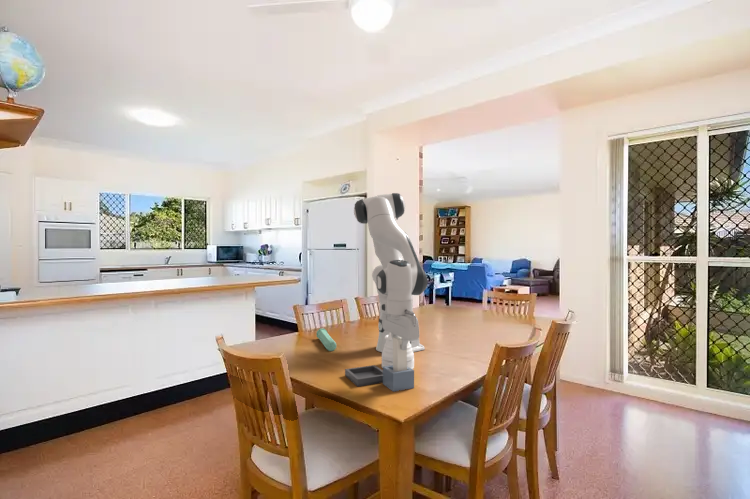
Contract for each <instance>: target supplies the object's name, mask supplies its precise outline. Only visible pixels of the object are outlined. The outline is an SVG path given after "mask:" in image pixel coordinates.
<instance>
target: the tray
mask: <svg viewBox="0 0 750 499" xmlns="http://www.w3.org/2000/svg"><path fill="white" fill-rule="evenodd" d="M344 376H345V377H346V378H347V379H348V380H349V381H350V382H352V383H353V384H354V385H355V386H356V387H358V388H359V387H364V386H365V387H366V386H369V385H370V386H371V385H378V384H383V369H381V368H380V367H378V366H377V365H376V364H373V365H367V366H358V367H352V368H345V369H344Z"/></svg>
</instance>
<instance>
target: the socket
mask: <svg viewBox="0 0 750 499" xmlns="http://www.w3.org/2000/svg"><path fill="white" fill-rule="evenodd" d="M382 370H383V383H382V385H384V386H385V387H386V388H387V389H389V390H390V391H392V392H399V390H400V391H405V389H406V390H409V389H410V390H411V389H414V388H415V370H414V368H413V369H411V368H409V367H407V370H405V371H398V372H394V371H393V365H391V366H384V367H383V368H382Z"/></svg>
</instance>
